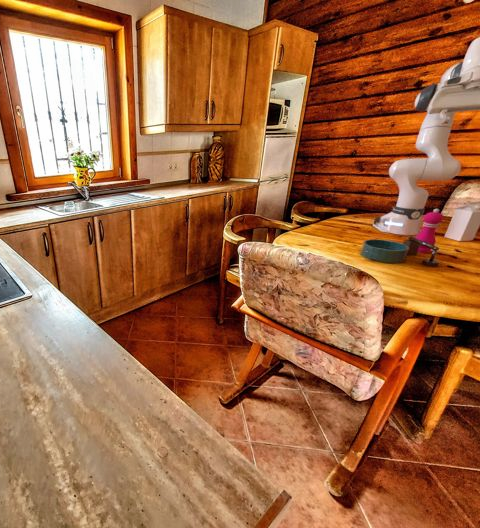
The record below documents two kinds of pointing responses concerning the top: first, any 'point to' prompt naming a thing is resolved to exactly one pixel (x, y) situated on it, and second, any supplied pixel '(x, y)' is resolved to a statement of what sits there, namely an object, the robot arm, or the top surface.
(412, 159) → the robot arm
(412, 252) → the dark brown block
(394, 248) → the bowl
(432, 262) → the dark grey angled piece
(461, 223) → the milk carton
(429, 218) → the pepper mill
